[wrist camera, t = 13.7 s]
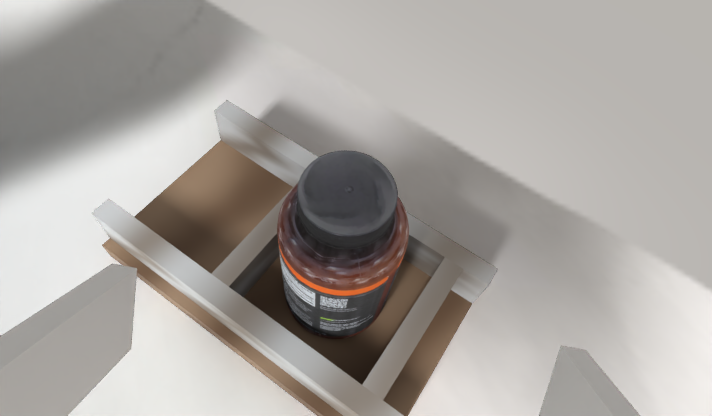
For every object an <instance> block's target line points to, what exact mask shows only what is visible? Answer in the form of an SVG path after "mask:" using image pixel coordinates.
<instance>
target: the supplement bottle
mask: <svg viewBox="0 0 712 416" xmlns="http://www.w3.org/2000/svg"><path fill="white" fill-rule="evenodd" d="M277 237H278V246H279V253H280V261H281V269H282V276H283V284H284V292H285V298H286V302H287V305H288V308H289V310H290V312H291V314H292V315H293V317H294V319H295V320H296V321H297V322H298V323H299V324H300V325H301V326H302V327H303V328H304V329H306V330H307V331H309V332H310V333H312V334H314V335H317V336H320V337H324V338H327V339H344V338H348V337H352V336H355V335H357V334H359V333H361V332H363V331H364V330H366V329H367V328H368V327H369V326H370V325H372V324H373V322H374V321H375V320H376V319H377V317H378V316H379V315H380V313H381V311H382V309H383V307H384V305H385V302H386V300H387V297H388V295H389V292H390V290H391V287H392V285H393V282H394V279H395V277H396V274H397V272H398V270H399V267H400V265H401V262H402V259H403V256H404V254H405V251H406V248H407V244H408V237H409V223H408V218H407V214H406V210H405V208H404V206H403V204H402V202H401V200H400V199H399V198H398V191H397V187H396V183H395V181H394V178H393V177H392V175H391V173H390V172H389V171H388V170H387V168H386V167H385V166H384V165H383V164H382V163H380V162H379V161H378V160H376V159H374V158H373V157H371V156H369V155H367V154H364V153H360V152H356V151H335V152H331V153H328V154H325V155H323V156H320V157H318V158H317V159H315V160H314V161H312V162H311V163H310V164H309V165H308V166H307V168H306V169H305V170H304V171H303V173H302V175H301V177H300V180H299V183H298V184H297V185H296V186H295V187H294V188H293V189H292V190H291V191H290V192H289V193H288V195H287V197H286V198H285V200H284V202H283V204H282V206H281V208H280V212H279V217H278V223H277Z"/></svg>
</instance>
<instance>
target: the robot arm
mask: <svg viewBox="0 0 712 416" xmlns="http://www.w3.org/2000/svg"><path fill="white" fill-rule="evenodd" d="M136 277H137V268H133V267H128V266H122V265H117V264H111V265H109V266H108V267H106V268H105V269H103V270H102V271H100V272H99V273H97V274H96V275H94V276H93V277H91V278H89V279H88V280H86V281H85V282H83V283H82V284H80V285H79V286H77V287H76V288H74V289H72V290H71V291H69V292H68V293H66V294H65V295H63V296H62V297H60V298H59V299H57V300H56V301H54V302H52V303H51V304H49V305H48V306H46V307H45V308H43V309H42V310H40V311H39V312H37V313H36V314H34V315H32V316H31V317H29V318H28V319H26V320H25V321H23V322H22V323H20V324H19V325H17V326H15V327H14V328H12V329H11V330H9V331H8V332H6V333H5V334H3V335H2V336H0V416H68V415H69V414H70V412H71V411H72V410H73V409H74V408H75V407H76V406H77V405H78V404H79V403H80V402H81V401H82V400H83V399H84V398H85V397H86V396H87V395H88V394H89V393H90V391H91V390H92V389H93V388H94V387H95V386H96V385H97V384H98V383H99V382H100V381H101V380H102V379H103V378H104V377H105V376H106V375H107V374H108V373H109V371H110V370H111V369H112V368H113V367H114V366H115V365H116V364H117V363H118V362H119V361H120V360H121V359H122V358H123V357H124V356H125V355H126V354H127V353H128V352H129V350H130V349H131V344H132V331H133V317H134V304H135V290H136ZM539 416H640V415H639V414H638V412H637V411H636V410H635V409H634V408H633V406H632V405H631V404H630V403H629V402H628V400H627V399H626V398H625V397H624V396H623V394H622V393H621V392H620V391H619V390H618V388H617V387H616V386H615V385H614V384H613V382H612V381H611V380H610V379H609V378H608V376H607V375H606V374H605V373H604V372H603V370H602V369H601V368H600V367H599V366H598V364H597V363H596V362H595V361H594V359H593V358H592V357H591V356H590V355H589V353H588V352H587V351H586V350H583V349H577V348H572V347H566V346H561V347H560V350H559V354H558V357H557V360H556V363H555V366H554V369H553V373H552V376H551V379H550V382H549V385H548V389H547V392H546V395H545V398H544V401H543V404H542V408H541V411H540V414H539Z"/></svg>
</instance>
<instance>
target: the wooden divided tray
mask: <svg viewBox="0 0 712 416" xmlns="http://www.w3.org/2000/svg"><path fill="white" fill-rule="evenodd" d="M214 112H215V117H216V121H217V125H218V130H219V134H220V138H221V141H220V142H218V143H217V144H216V145H215V146H214V147H213V148H212V149H210V150H209V151H208V152H207V153H206V154H205V155H204V156H203V157H201V158H200V159H199V160H198V161H197V162H196V163H195V164H194V165H192V166H191V167H190V168H189V169H188V170H187V171H186V172H184V173H183V174H182V175H181V176H180V177H179V178H178V179H177V180H175V181H174V182H173V183H172V184H171V185H170V186H169V187H167V188H166V189H165V190H164V191H163V192H162V193H161V194H160V195H158V196H157V197H156V198H155V199H154V200H153V201H152V202H151V203H149V204H148V205H147V206H146V207H145V208H144V209H143V210H141V211H140V212H139V213H138V214H137V215H136V216H135V217H133V216H132V215H131V214H129V213H128V212H127V211H125V210H124V209H122V208H121V207H120V206H118V205H117V204H116V203H114V202H113V201H112V200H110V199H108V200H106V201H105V202H104V203H103V204H102V205H100V206H99V207H98V208H97V209H96V210H94V211H93V212H92V213H91V214H92V215H93V216H94V218H95V219H96V220H97V221H98V223H99V224H100V225H101V227H102V228H103V229H104V231H105V232H106V233H107V235H108V236H109V237H110V239H109V240H108V241H106V242H105V243H104V244H103V245H102V246H103V247H104V248H105V249H106V251H107V252H108V253H109V254H110V256H112V257H113V258H114V259H115V260H117V261H118V262H119V263H121V264H122V265H123V266H128V267H133V268H137V277H139V278H140V279H141V280H143V281H144V282H145V283H146V284H148V285H149V286H150V287H152V288H153V289H154V290H156V291H157V292H158V293H159V294H161V295H162V296H163V297H165V298H166V299H167V300H168V301H170V302H171V303H172V304H174V305H175V306H176V307H178V308H179V309H180V310H181V311H183V312H184V313H185V314H187V315H188V316H189V317H190V318H192V319H193V320H194V321H196V322H197V323H198V324H200V325H201V326H202V327H203V328H205V329H206V330H207V331H209V332H210V333H211V334H212V335H214V336H215V337H216V338H218V339H219V340H220V341H221V342H223V343H224V344H225V345H227V346H228V347H229V348H231V349H232V350H233V351H234V352H236V353H237V354H238V355H240V356H241V357H242V358H243V359H245V360H246V361H247V362H249V363H250V364H251V365H253V366H254V367H255V368H256V369H258V370H259V371H260V372H262V373H263V374H264V375H265V376H267V377H268V378H269V379H271V380H272V381H273V382H275V383H276V384H277V385H278V386H280V387H281V388H282V389H284V390H285V391H286V392H287V393H289V394H290V395H291V396H293V397H294V398H295V399H296V400H298V401H299V402H300V403H302V404H303V405H304V406H306V407H307V408H308V409H309V410H311V411H312V412H313V413H315V414H316V415H317V416H408V414H409V413H410V411H411V409H412V407H413V406H414V404H415V402H416V400H417V399H418V397H419V395H420V393H421V392H422V390H423V388H424V386H425V385H426V383H427V381H428V379H429V378H430V376H431V374H432V373H433V371H434V369H435V367H436V366H437V364H438V362H439V360H440V359H441V357H442V355H443V353H444V352H445V350H446V348H447V346H448V345H449V343H450V341H451V339H452V338H453V336H454V334H455V333H456V331H457V329H458V327H459V326H460V324H461V322H462V320H463V319H464V317H465V315H466V313H467V312H468V310H469V308H470V306H471V305H472V303H473V302H474V301H475V300H476V299H477V298H478V297H479V295H480V294H481V293H482V292H483V291H484V290H485V289H486V288H487V287H488V285H489V284H490V282H491V280H492V279H493V277H494V275H495V273H496V272H497V270H498V269H497V268H496V267H494V266H493V265H491V264H489V263H488V262H486V261H485V260H483V259H481V258H480V257H478V256H477V255H475V254H473V253H472V252H470V251H469V250H467V249H465V248H464V247H462V246H460V245H459V244H457V243H456V242H454V241H452V240H451V239H449V238H448V237H446V236H444V235H443V234H441V233H440V232H438V231H436V230H435V229H433V228H432V227H430V226H428V225H427V224H425V223H424V222H422V221H420V220H419V219H417V218H416V217H414V216H412V215H411V214H409V213H408V212H406V214H407V218H408V223H409V237H408V244H407V248H406V251H405V254H404V256H403V259H402V262H401V265H400V267H399V270H398V272H397V274H396V277H395V279H394V282H393V285H392V287H391V290H390V292H389V295H388V297H387V300H386V302H385V305H384V307H383V309H382V311H381V313H380V315H379V316H378V317H377V319H376V320H375V321H374V322H373V324H372V325H370V326H369V327H368V328H367V329H366V330H364V331H363V332H361V333H359V334H357V335H355V336H352V337H348V338H344V339H327V338H324V337H320V336H317V335H314V334H312V333H310V332H309V331H307V330H306V329H304V328H303V327H302V326H301V325H300V324H299V323H298V322H297V321H296V320H295V319H294V317H293V315H292V314H291V312H290V310H289V308H288V305H287V302H286V298H285V292H284V284H283V276H282V269H281V261H280V253H279V246H278V237H277V223H278V217H279V212H280V208H281V206H282V204H283V202H284V200H285V198H286V197H287V195H288V193H289V192H290V191H291V190H292V189H293V188H294V187H295V186H296V185H297V184H298V183H299V180H300V177H301V175H302V173H303V171H304V170H305V169H306V168H307V166H308V165H309V164H310V163H311V162H312V161H314V160H315V159H317V158H318V156H316V155H314V154H313V153H311V152H310V151H308V150H306V149H305V148H303V147H302V146H300V145H298V144H297V143H295V142H294V141H292V140H290V139H289V138H287V137H286V136H284V135H282V134H281V133H279V132H277V131H276V130H274V129H273V128H271V127H269V126H268V125H266V124H265V123H263V122H261V121H260V120H258V119H257V118H255V117H253V116H252V115H250V114H249V113H247V112H245V111H244V110H242V109H241V108H239V107H237V106H236V105H234V104H233V103H231V102H229V101H228V100H226V101H225V102H224V103H223V104H222V105H220V106H219V107H218V108H217V109H216V110H214Z"/></svg>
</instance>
